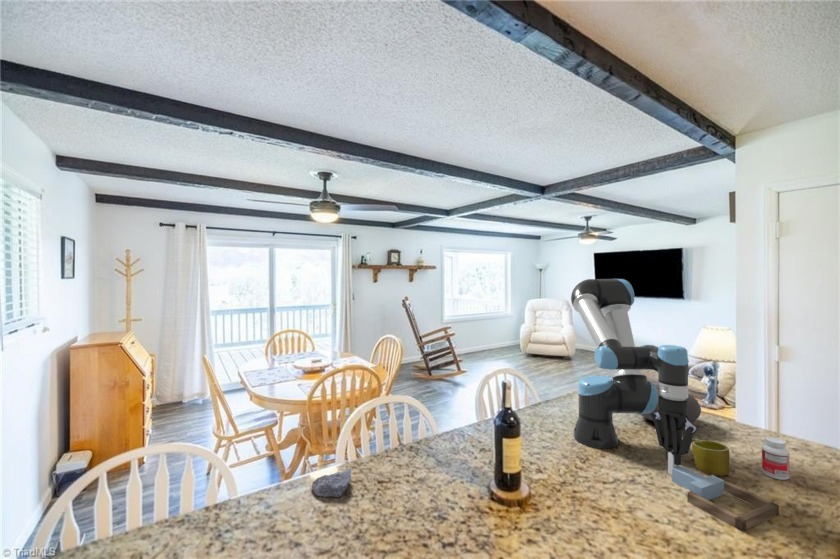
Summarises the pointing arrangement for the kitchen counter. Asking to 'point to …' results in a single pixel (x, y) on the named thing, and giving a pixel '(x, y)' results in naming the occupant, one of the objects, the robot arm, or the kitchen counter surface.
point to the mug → (711, 457)
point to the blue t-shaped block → (698, 482)
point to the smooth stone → (693, 408)
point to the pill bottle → (775, 458)
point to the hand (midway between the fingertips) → (673, 473)
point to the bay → (741, 522)
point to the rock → (332, 484)
